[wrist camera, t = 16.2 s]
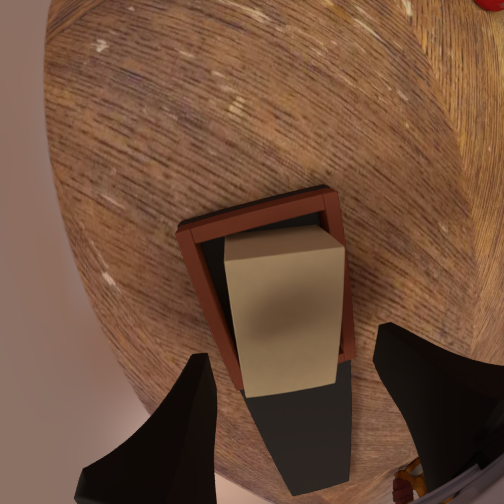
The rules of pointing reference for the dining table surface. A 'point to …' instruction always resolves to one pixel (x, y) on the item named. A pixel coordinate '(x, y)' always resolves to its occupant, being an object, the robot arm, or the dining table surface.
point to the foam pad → (285, 307)
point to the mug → (410, 484)
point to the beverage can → (491, 4)
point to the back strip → (221, 325)
